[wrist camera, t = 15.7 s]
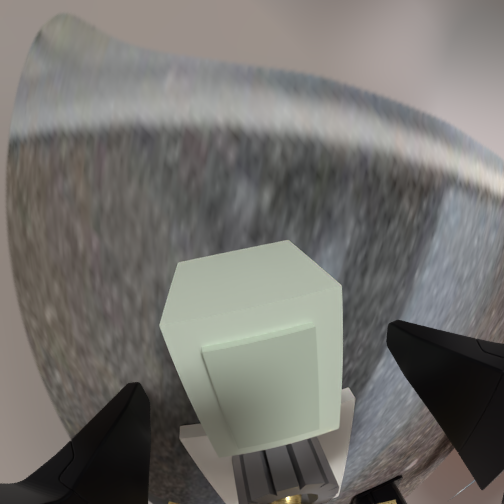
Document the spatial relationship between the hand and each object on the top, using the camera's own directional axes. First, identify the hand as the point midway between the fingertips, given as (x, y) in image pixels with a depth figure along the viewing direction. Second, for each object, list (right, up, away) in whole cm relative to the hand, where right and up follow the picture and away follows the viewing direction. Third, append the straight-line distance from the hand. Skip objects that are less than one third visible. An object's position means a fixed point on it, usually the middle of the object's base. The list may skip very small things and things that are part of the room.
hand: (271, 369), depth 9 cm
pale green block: (-1, +1, +3) cm, 4 cm away
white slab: (+2, -13, +8) cm, 15 cm away
